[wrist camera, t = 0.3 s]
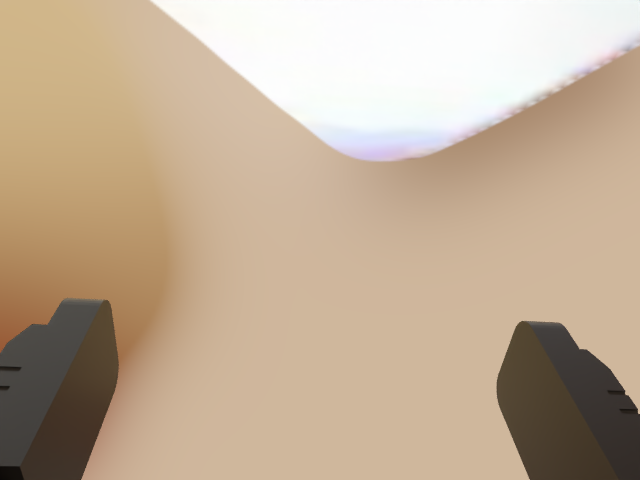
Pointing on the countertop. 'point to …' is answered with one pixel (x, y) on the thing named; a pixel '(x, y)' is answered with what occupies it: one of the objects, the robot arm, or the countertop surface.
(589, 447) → the robot arm
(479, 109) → the countertop surface
